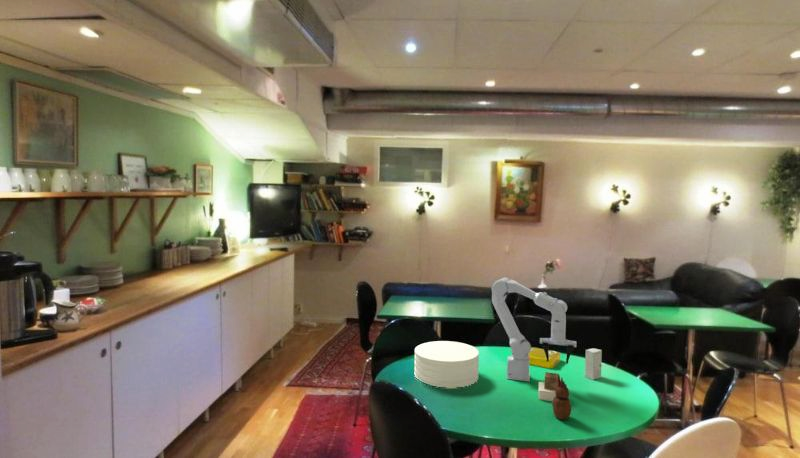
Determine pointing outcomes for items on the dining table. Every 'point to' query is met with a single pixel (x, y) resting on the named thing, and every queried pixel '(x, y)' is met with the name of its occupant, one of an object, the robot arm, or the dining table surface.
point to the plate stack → (446, 364)
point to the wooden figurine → (561, 401)
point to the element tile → (543, 358)
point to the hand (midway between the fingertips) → (557, 361)
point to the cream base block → (545, 393)
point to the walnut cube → (551, 381)
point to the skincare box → (593, 363)
